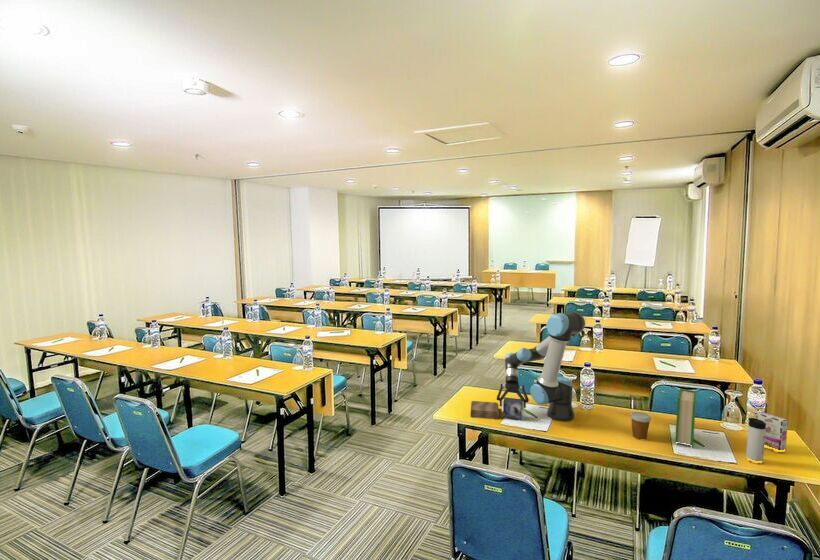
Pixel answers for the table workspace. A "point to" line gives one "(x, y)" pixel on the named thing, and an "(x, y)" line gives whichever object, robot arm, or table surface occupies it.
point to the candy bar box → (774, 430)
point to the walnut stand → (484, 409)
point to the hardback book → (685, 416)
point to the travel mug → (756, 439)
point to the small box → (512, 408)
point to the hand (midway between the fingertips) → (512, 412)
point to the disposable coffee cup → (640, 424)
